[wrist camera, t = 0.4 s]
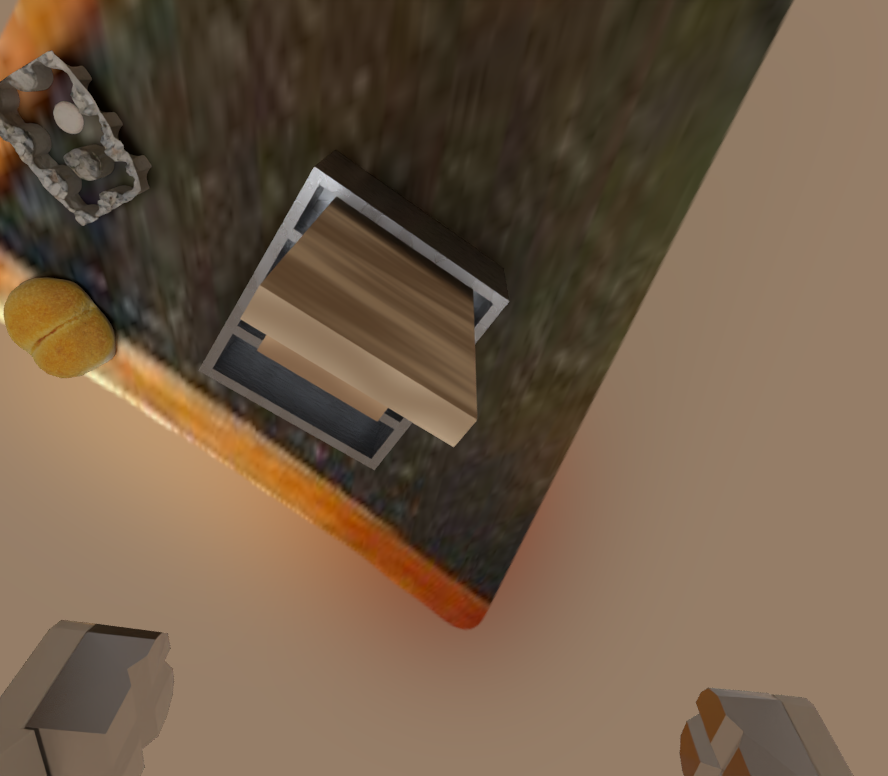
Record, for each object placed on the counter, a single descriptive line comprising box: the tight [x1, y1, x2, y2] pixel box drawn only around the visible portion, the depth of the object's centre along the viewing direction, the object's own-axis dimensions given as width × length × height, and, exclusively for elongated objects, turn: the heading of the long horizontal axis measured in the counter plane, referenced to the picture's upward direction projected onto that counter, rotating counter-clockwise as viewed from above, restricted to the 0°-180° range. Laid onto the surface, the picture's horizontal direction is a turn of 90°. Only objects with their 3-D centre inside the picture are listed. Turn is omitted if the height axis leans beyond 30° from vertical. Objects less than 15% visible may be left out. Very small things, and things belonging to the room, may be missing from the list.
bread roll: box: [4, 277, 116, 378], centre depth 53 cm, size 8×9×4 cm
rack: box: [199, 150, 509, 470], centre depth 50 cm, size 18×16×8 cm
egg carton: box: [0, 50, 152, 226], centre depth 46 cm, size 11×8×4 cm
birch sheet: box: [240, 196, 477, 447], centre depth 39 cm, size 2×12×22 cm, turn 55°
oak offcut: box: [257, 335, 388, 422], centre depth 49 cm, size 2×10×9 cm, turn 55°
